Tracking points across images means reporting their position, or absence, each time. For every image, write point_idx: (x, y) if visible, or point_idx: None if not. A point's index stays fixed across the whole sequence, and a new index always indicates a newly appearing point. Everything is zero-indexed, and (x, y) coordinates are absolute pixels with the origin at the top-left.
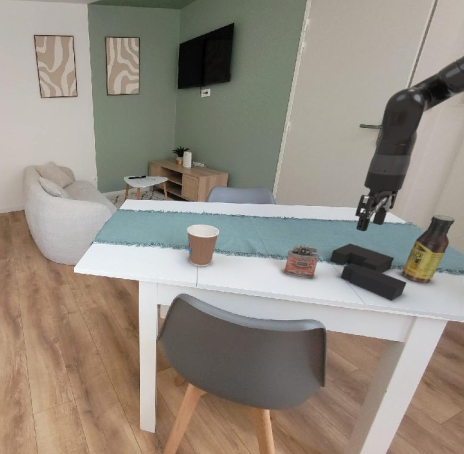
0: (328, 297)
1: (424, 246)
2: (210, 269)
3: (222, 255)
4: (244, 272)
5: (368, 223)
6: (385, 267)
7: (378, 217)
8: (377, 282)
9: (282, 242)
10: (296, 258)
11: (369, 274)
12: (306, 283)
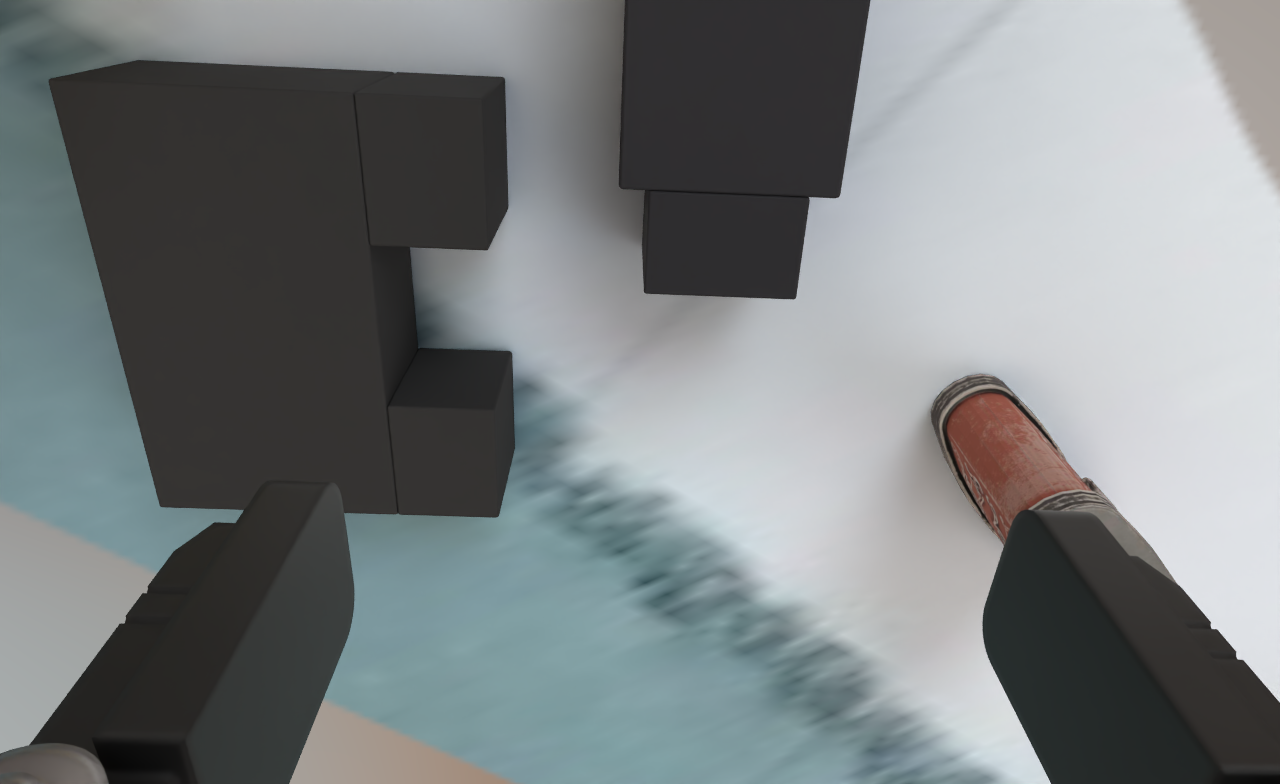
0: (1241, 143)
1: None
2: None
3: None
4: (1265, 670)
5: (1160, 646)
6: (250, 73)
7: (281, 686)
8: None
9: (527, 780)
10: None
11: (786, 57)
12: (1113, 360)
